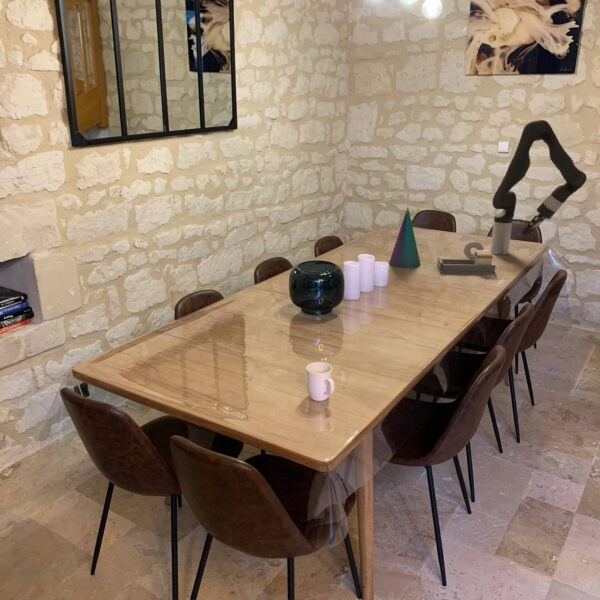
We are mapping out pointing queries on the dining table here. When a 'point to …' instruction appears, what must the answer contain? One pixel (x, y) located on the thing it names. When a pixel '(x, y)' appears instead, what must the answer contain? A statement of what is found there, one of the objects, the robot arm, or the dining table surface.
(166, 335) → the dining table surface
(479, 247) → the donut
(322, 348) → the dining table surface
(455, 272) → the bay
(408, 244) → the decorative cone
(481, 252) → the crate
